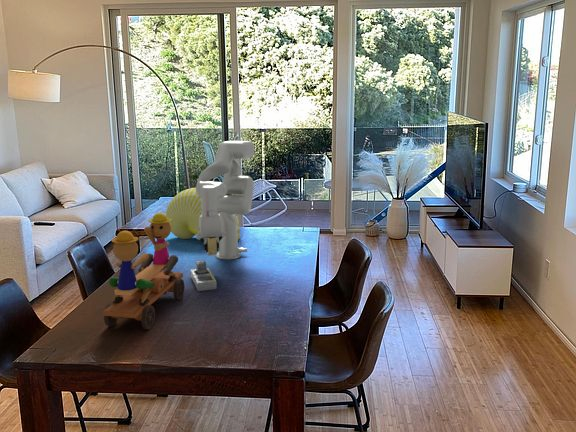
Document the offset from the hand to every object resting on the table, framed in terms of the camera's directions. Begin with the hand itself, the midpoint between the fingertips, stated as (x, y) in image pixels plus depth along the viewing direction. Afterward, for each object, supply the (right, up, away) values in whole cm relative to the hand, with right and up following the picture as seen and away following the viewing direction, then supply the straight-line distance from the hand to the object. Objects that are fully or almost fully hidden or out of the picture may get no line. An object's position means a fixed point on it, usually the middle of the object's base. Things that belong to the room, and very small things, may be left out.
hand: (211, 250), depth 265 cm
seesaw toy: (-19, -21, -45) cm, 53 cm away
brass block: (0, -1, 0) cm, 2 cm away
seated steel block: (-3, -13, -9) cm, 16 cm away
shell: (-13, +2, +59) cm, 61 cm away
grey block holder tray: (-2, -13, -13) cm, 19 cm away
